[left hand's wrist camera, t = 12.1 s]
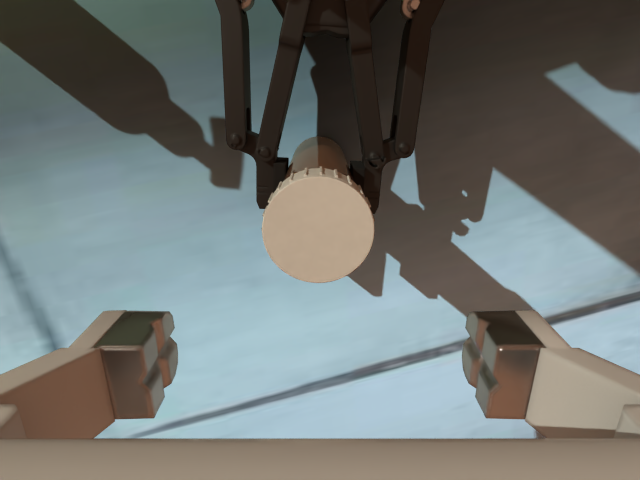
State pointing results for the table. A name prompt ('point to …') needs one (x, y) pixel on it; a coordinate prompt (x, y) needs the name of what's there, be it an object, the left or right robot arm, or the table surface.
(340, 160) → the brown slim bottle
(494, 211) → the table surface
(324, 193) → the lid
